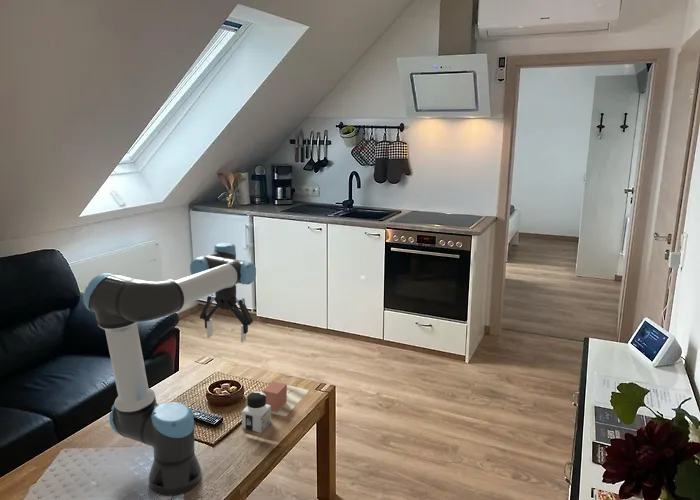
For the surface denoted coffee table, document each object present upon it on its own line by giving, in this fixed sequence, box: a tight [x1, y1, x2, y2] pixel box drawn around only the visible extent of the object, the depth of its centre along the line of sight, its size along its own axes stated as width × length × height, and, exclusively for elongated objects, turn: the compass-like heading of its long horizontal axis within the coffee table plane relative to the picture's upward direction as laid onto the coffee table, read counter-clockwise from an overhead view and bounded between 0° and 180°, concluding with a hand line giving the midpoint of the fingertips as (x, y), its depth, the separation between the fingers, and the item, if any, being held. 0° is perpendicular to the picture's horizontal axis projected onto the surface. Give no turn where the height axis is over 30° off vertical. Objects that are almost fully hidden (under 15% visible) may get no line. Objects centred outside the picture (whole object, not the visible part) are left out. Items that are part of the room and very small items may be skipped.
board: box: [271, 384, 310, 418], centre depth 211 cm, size 22×14×1 cm, turn 161°
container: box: [241, 391, 272, 433], centre depth 192 cm, size 8×8×13 cm
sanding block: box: [262, 380, 288, 413], centre depth 204 cm, size 8×6×8 cm
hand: (226, 338), depth 201 cm, fingers open, 13 cm apart
